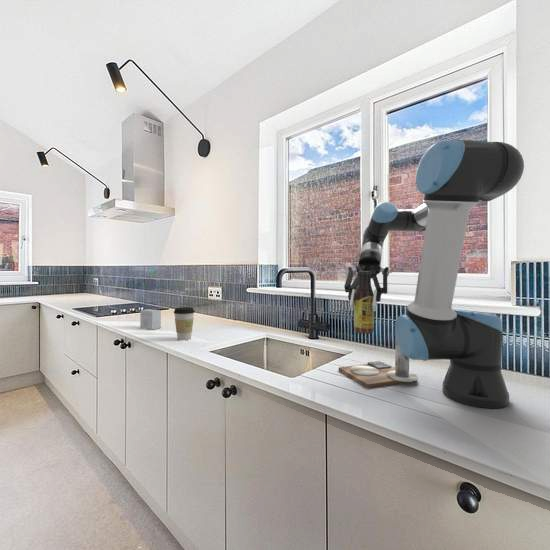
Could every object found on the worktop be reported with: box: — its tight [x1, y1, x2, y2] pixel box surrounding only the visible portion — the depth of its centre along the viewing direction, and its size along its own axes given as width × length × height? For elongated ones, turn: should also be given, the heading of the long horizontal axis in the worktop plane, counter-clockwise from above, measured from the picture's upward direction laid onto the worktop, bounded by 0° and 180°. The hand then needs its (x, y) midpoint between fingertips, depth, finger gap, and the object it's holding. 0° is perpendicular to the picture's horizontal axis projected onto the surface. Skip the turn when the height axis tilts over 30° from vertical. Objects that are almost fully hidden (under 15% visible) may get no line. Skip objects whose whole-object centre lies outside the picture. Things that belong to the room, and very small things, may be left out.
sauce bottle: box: [353, 271, 375, 335], centre depth 100 cm, size 7×6×20 cm
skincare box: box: [139, 308, 162, 330], centre depth 178 cm, size 10×6×10 cm, turn 60°
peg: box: [394, 338, 410, 378], centre depth 95 cm, size 4×4×14 cm
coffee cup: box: [173, 306, 196, 341], centre depth 150 cm, size 10×10×15 cm
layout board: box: [338, 360, 419, 389], centre depth 98 cm, size 18×18×2 cm
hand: (362, 307), depth 96 cm, fingers closed on sauce bottle, 6 cm apart
